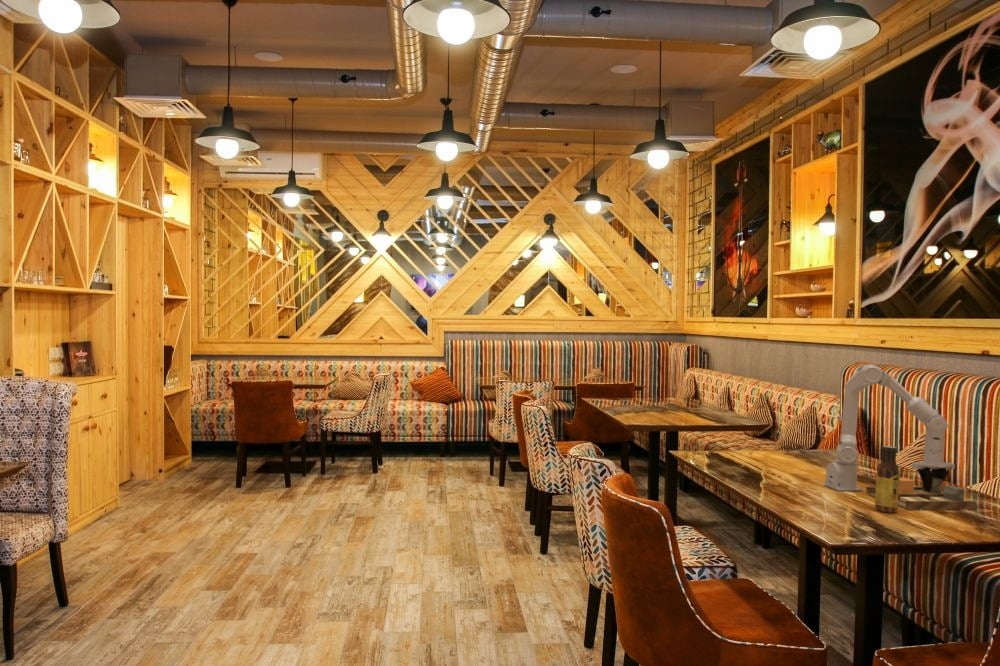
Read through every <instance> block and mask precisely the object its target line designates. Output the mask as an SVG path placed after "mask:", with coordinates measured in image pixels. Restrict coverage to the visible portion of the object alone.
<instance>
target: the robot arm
mask: <svg viewBox="0 0 1000 666" xmlns="http://www.w3.org/2000/svg"><path fill="white" fill-rule="evenodd" d="M876 384H878V385H879V386H883V387H885V388H886V387H887V388H888V389H889V390H890V391H891V392H893V393H894V394H895V395H896V396H898V397H899V398H900V399H901V400H902V401H904V403H905V404H906V405H905V407H906V410H907V411H908V412H910V413H911V415H913V416H914V417H915V418H916V419H918V421H920V423H923V425H924V427H925V436H924V450H923V451H924V452H923V461H915V462H912V463H911V469H914V470H917V472H918V474H919V476H920V479H921V482H922V486H923V487H924V490H926V491H930V490H931V484H932V479H933V477H936V478H939V479H942V485H943V483H944V481H945V479H946V478H947V477H948V475H949V474H950V470H951V471H952V470H953V471H954V470H955V466H956V465H955V463H952V462H945V461H944V460H945V445H946V437H945V436H946V431H947V430H948V428H949V427H948V426H949V424H948V421H947V419H946V418H945V417H943V416H942V415H941V414H940V413H939V410H937V409H934V408H933V407H932V406H931V405H930V404H929V403H927V402H928V400H926V398H922V397H920V396H913V395H912V394H911V393H910V392H909V391H908V389H906V388H905V387H904V386H903V385H901V383H899V382H898V380H896V379H895V378H894V377H893V376H892V375H891V374H889V373H888V372H885V371H884V370H882V369H881V368H880V367H878V366H877V365H875V364H870V363H867V364H863V365H862V366H860V367H859V368H857V369H856V371H855V372H854V373H853V374H852V376H851V377H850V378H849V379H848V380H847V381H846V382H845V385H844V397H843V407H842V419H841V433H840V436H839V442H838V444H837V445H836V447H835V453H836V455H837V457H836V458H835V459H834V462H830V463H828V464H827V465H826V470H825V483H824V484H823V485H824V486H826V487H828V488H831V489H833V490H836V491H848V492H849V491H852V492H854V491H855V492H856V491H859V492H860V491H861V492H862V491H863V488H860V487H857V486H858V485H857V484H858V468H859V465H858V464H859V462H857V460H858V458H859V452H858V450H857V427H858V417H859V406H860V405H859V403H860V392H861V391H863V390H865V389H866V388H867V387H869V386H873V385H876Z"/></svg>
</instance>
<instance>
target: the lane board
mask: <svg viewBox="0 0 1000 666" xmlns="http://www.w3.org/2000/svg"><path fill="white" fill-rule="evenodd" d="M914 490H922V486H914ZM875 492H876V486H867V487H866V495H867V494H868V495H867V496H869V495H871V496H870V497H872V496H873V497H872V498H874V497H875ZM964 499H965V489H964V488H961V487H958V486H955V485H951V484H950V485H946V484H945V485H943V488H942V494H898V506H899V507H898V508H900V509H903V508H904V509H903V510H906V509H907V510H906V511H934V510H933V509H936V510H935V511H938V510H937V509H970V510H969V511H972V510H971V509H975V510H976V501H974V500H964ZM916 509H918V510H916ZM920 509H922V510H920ZM927 509H928V510H927ZM930 509H931V510H930Z"/></svg>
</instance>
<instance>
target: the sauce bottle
mask: <svg viewBox="0 0 1000 666" xmlns="http://www.w3.org/2000/svg"><path fill="white" fill-rule="evenodd" d="M897 449H898V448H897V446H892V445H882V446H881V461H880V463H878V465H877V466H876V476H875V477H876V479H875V487H876V492H875V498H874V505H875V506H874V509H875V510H877V511H878V512H882V513H887V514H889V513H892V514H895V513H897V512H898V508H899V507H898V494H899V478H900V475H901V474H900V471H899V468H898V467H899V466H898V465H897V462H896V461H897V459H896V458H897V451H898V450H897Z"/></svg>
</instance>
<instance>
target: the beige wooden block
mask: <svg viewBox="0 0 1000 666" xmlns="http://www.w3.org/2000/svg"><path fill="white" fill-rule="evenodd" d="M921 487H922V490H914V494H943V484H942V479H939V478H936V477H933V479H932V484H931V490H930V491H926V490H924V487H923V485H922V486H921Z"/></svg>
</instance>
